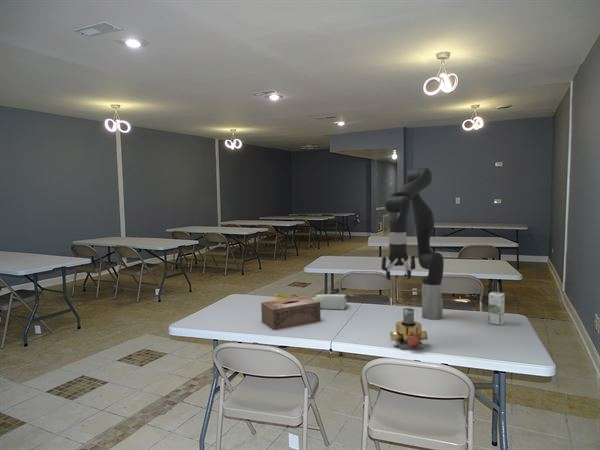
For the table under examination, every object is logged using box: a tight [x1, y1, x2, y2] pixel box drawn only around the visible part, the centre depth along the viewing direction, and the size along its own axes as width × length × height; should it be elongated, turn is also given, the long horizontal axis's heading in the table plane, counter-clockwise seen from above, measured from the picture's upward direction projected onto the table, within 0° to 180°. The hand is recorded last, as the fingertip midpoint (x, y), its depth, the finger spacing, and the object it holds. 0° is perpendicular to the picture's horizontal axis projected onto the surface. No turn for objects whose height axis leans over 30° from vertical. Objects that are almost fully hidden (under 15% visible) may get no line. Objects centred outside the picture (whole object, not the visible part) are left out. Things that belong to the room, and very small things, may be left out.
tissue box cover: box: [260, 295, 322, 331], centre depth 205 cm, size 26×14×10 cm, turn 117°
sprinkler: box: [274, 293, 299, 300], centre depth 235 cm, size 22×6×20 cm
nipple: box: [402, 307, 415, 326], centre depth 169 cm, size 4×4×9 cm
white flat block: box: [310, 293, 348, 311], centre depth 236 cm, size 8×23×25 cm
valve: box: [389, 319, 428, 351], centre depth 169 cm, size 14×12×9 cm
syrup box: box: [487, 291, 506, 326], centre depth 195 cm, size 6×6×14 cm
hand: (398, 279), depth 178 cm, fingers open, 8 cm apart
